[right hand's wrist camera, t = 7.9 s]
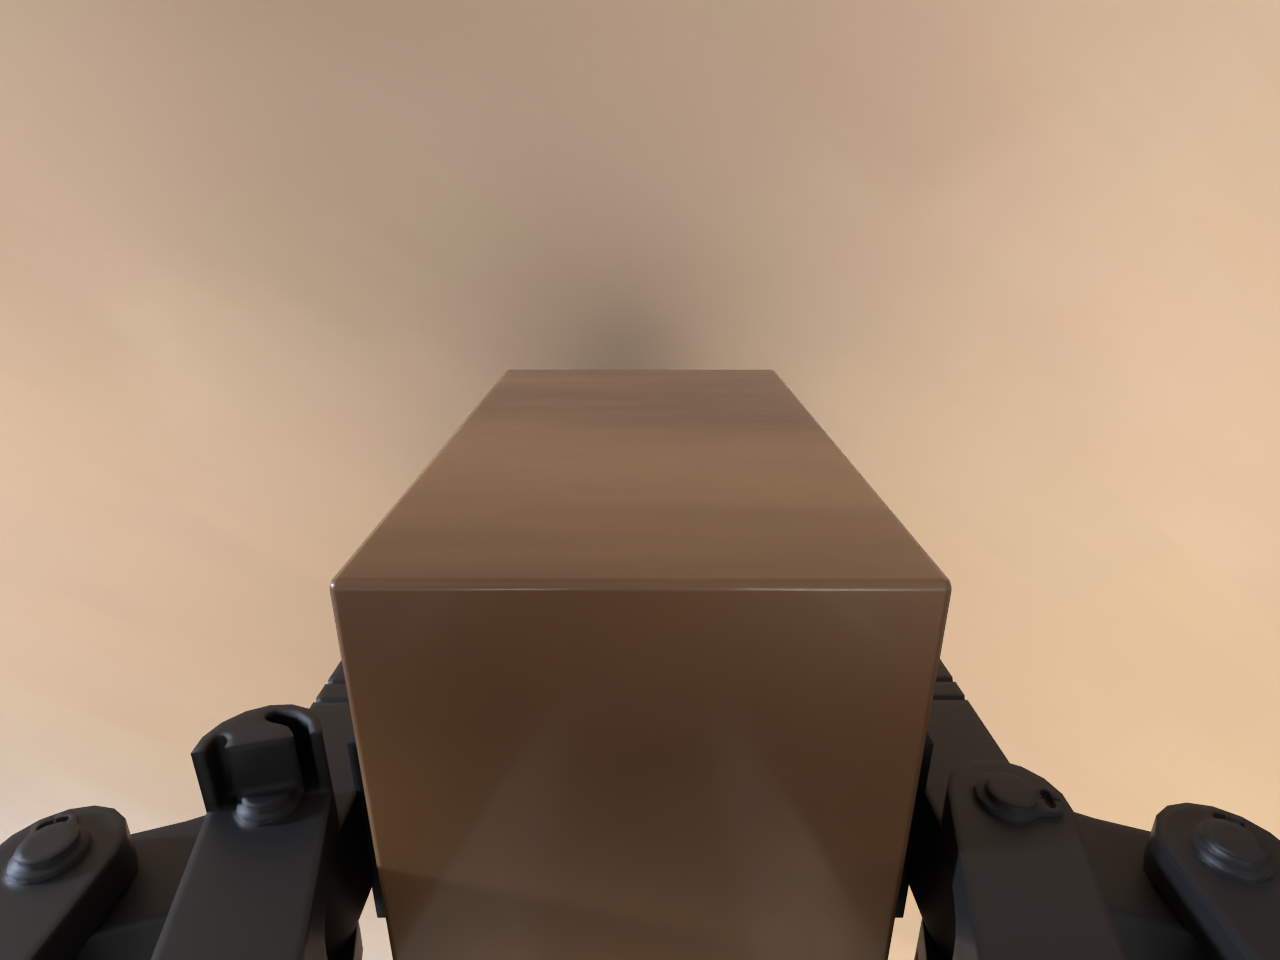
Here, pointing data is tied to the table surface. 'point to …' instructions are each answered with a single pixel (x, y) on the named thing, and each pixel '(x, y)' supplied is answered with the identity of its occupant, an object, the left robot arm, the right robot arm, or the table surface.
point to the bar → (640, 679)
